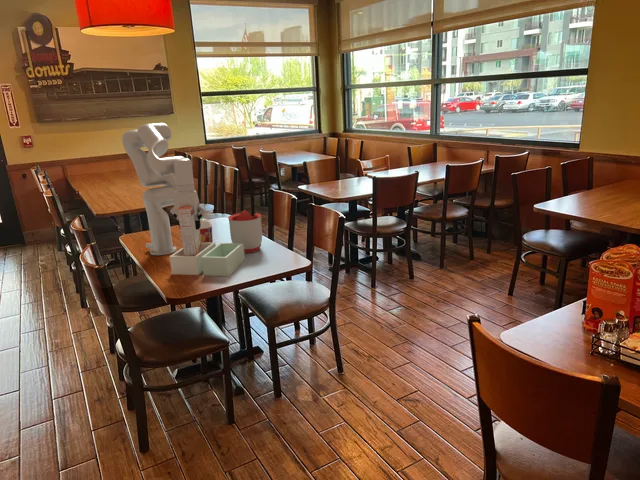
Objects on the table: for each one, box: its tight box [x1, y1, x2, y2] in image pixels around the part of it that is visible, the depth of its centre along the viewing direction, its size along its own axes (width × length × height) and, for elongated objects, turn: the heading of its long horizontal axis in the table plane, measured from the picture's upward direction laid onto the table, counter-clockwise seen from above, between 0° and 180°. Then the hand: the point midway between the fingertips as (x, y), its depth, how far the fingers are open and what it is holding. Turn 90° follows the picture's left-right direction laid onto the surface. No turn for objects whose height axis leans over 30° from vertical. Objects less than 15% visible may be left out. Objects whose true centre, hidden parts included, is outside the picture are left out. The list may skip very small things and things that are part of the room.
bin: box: [202, 242, 246, 277], centre depth 203 cm, size 11×20×8 cm, turn 169°
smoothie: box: [200, 216, 214, 243], centre depth 222 cm, size 8×8×20 cm
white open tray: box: [168, 242, 217, 276], centre depth 206 cm, size 12×20×8 cm, turn 169°
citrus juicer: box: [227, 209, 263, 254], centre depth 224 cm, size 16×17×20 cm
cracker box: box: [177, 206, 202, 256], centre depth 202 cm, size 14×6×21 cm, turn 5°
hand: (189, 228), depth 202 cm, fingers closed on cracker box, 6 cm apart
